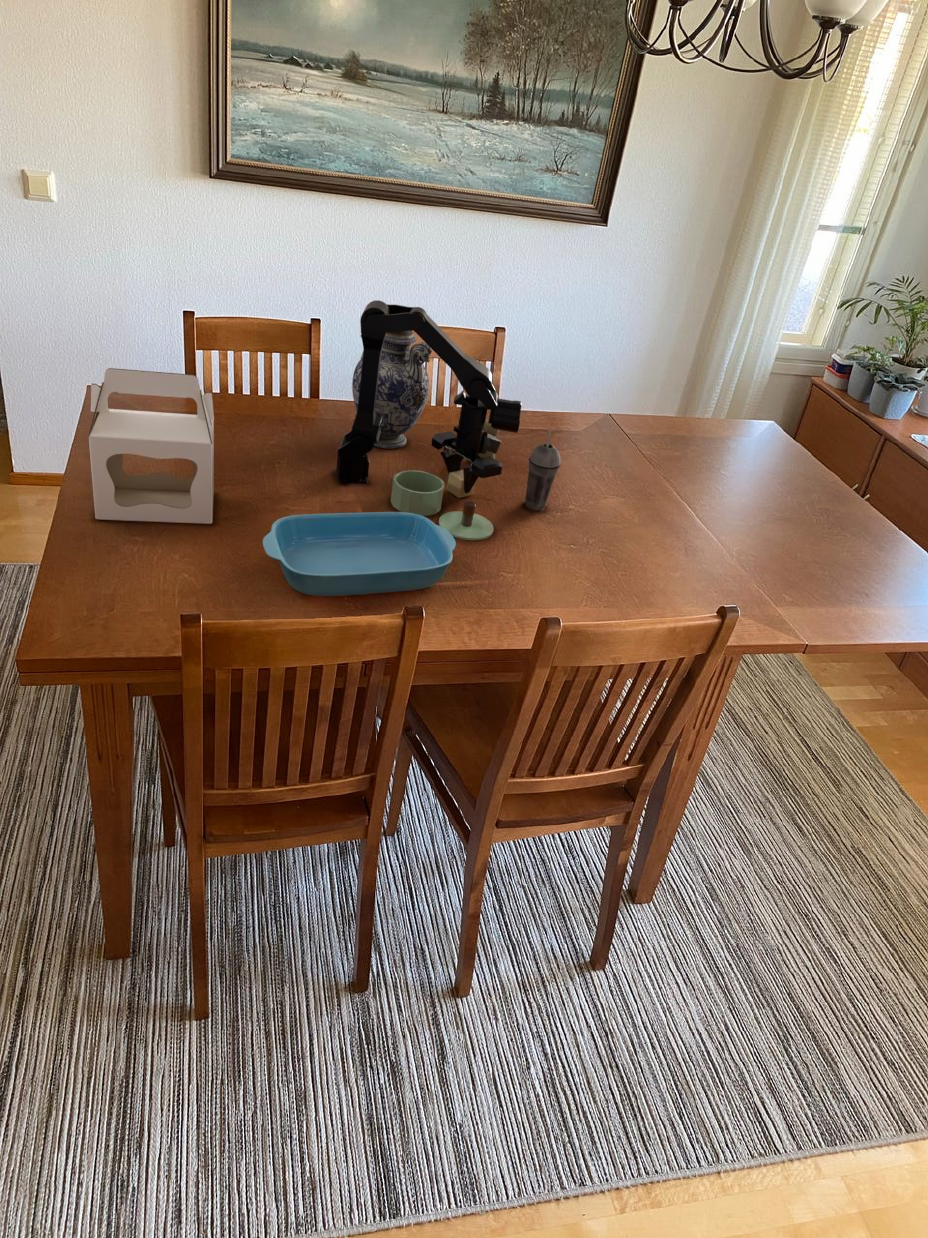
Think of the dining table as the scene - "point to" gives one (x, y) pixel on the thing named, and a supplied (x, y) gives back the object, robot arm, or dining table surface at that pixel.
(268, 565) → the dining table surface
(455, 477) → the block
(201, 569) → the dining table surface
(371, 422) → the robot arm
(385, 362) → the decorative vase
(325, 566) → the casserole dish
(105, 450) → the gable box
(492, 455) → the pepper mill
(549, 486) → the beverage cup
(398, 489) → the pot
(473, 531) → the lid
